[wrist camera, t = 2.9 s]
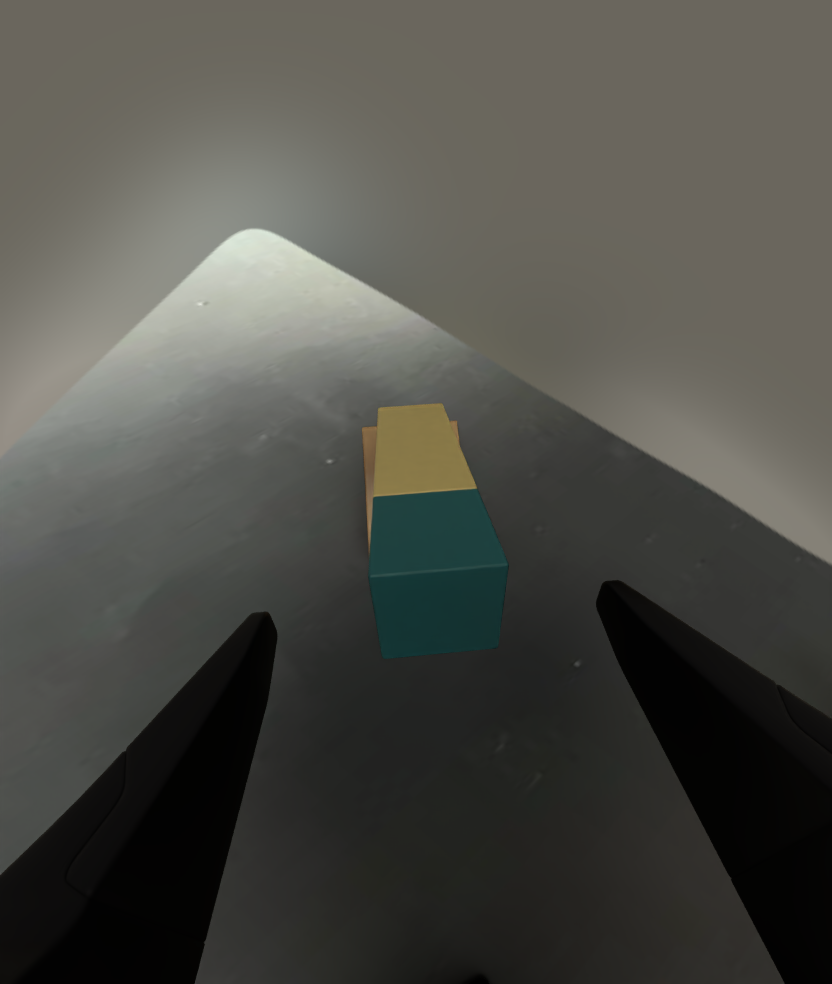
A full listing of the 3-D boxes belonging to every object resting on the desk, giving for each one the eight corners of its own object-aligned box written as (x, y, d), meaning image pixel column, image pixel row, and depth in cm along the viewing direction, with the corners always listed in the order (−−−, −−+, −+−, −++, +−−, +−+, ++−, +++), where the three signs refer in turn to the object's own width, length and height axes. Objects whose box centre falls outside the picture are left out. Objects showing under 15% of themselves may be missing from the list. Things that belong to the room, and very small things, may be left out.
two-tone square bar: (459, 612, 18) (524, 670, 8) (394, 618, 18) (373, 686, 8) (438, 421, 21) (468, 269, 10) (381, 426, 21) (351, 275, 10)
